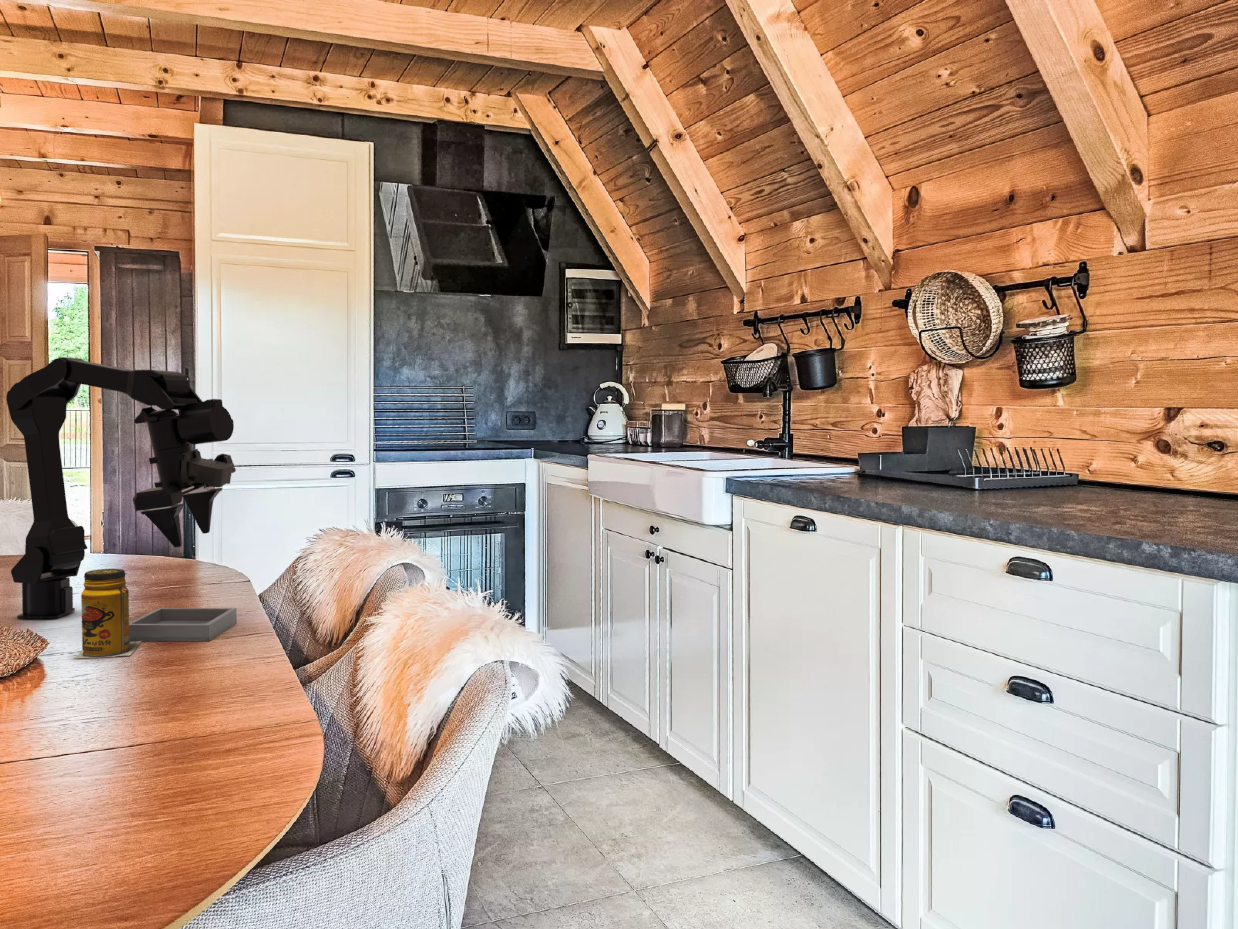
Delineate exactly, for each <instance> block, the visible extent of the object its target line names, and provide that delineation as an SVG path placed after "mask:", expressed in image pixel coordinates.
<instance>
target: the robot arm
mask: <svg viewBox="0 0 1238 929" xmlns="http://www.w3.org/2000/svg"><path fill="white" fill-rule="evenodd" d="M81 385H85V386H91V387H95V388H100V389H103V390H104V389H105V390H109V391H115V392H119V393H122V394H124V395H127V396H128V397H129V398H130V399H132V400H135V401H136V402H138V403H141V404H143V405H146V406H148V407H143V408H141V411H140V412H139V414H138V415H137V416H136V417H135V419H134V420H133V422H134V424H136V425H140V424H146V425H147V426H146V427H147V430H148V434H149V440H150V443H151V449H152V453H153V456H151V457H148V461H149V465H153V464H154V465H156V470H157V475H158V478H159V481H157V482H154V487H152V488H151V487H150V488H147V489H144V490H141V491H137V492H136V493H135V495H134V496H133V498H132V503H133V508H134V511H135V512H138V511H140V513H141V515H143V516H146V517H147V519H149V521H150V522H151V523H152V524H153V525H154V526H155V527H156V528H157V529H159V531H160V532H161V533H162V535H163V536H164V537H165V538H166V540H167V541H168V542H169V543H170V544H171V545H172V546H173V548H181V547H182V544H183V542H182V541H183V540H182V530H181V520H180V513H181V511H182V510H183V508H184V507H185V504H186V505H187V507H188V509H189V511H190V513H191V514H192V517H193V519H194V521H195V523H196V525H197V526H198V528H199V530H200V531H201V533H202V534H209V533H210V530H211V522H212V512H213V505H214V500H215V498H216V497H217V496H218V495H219V493H221V492H222V491H223V486H225V485H229V484H231V479H232V474H233V473H235V472H236V471H237V470H236V467H235V463H233V462H234V461H233V459H232V456H231V454H226V453H220V454H217V455H216V456H215V458H204V457H202V455H201V452H200V450H198V448H195V449H193V447H192V445H202V444H208V443H209V444H210V443H219V442H225V441H228V440H229V439H230V438H231V437H232V436H233V433H234V427H235V426H234V424H235V423H234V419H233V418H232V416H231V414H230V411H228V409H227V408H225V407H224V405H223V400H222V399H221V398H220V399H218V398H211V399H205V400H202V399H201V398H200V397H199V395H198V394H197V393H196V392H195V390H194V389H193V388H192V387H191V386H190V384H189V380H188V379H187V376H186V375H185V374H184V373H182V372H181V371H172V370H160V369H159V370H158V369H128V368H122V367H117V366H111V365H108V364H107V365H106V364H102V363H97V362H91V361H87V360H84V359H82V358H77V357H66V356H59V357H57V358H54V359H53V360H52V361H50V363H48V364H47V365H46V366H44V367H41V368H40V369H38V370H36V371H33V372H32V373H31V374H27V375H26V376H24V377H23V378H22V379H20V381H18V382H16V383H14V384H13V385H12V386H11V388H10V389H9V390H8V391H7V392H6V406H7V408H8V413H9V417H10V420H11V421H12V423H13V424H14V426H15V427H16V428H17V429H18V431H19V432H20V433H21V435H22V436H23V439H24V449H25V454H26V455H25V456H26V464H27V466H26V467H27V472H28V482H29V489H30V498H31V506H32V514H33V522H32V525H31V526H30V529H29V531H28V533H27V534H26V537H25V544H24V545H25V546H24V547H25V552H24V554H23V556H22V557H20V559H19V560H18V561H17V562H16V564H14V566H13V567H12V568H11V570H10V573H11V577H12V579H13V582H14V584H15V583H18V584H21V596H22V597H21V599H22V602H21V603H22V608H21V610H22V613H20V614H17V615H16V619H59V618H61V617H63V616H65V615H69V614H71V613H73V612H75V611H76V608H74V600H73V598H74V592H73V591H74V590H73V589H74V587H73V586H72V585H70V584H71V583H70V582H71V581H70V580H71V579H70V578H71V577H77V576H78V573H79V570H80V567H81V564H82V561H84V560H85V557H86V556H85V553H86V552H85V550H87V549H88V546H87V544H86V540H85V531H86V530H85V529H84V526H83V525H75V524H74V522H73V521H72V520H71V519H70V517H69V515H68V513H69V512H68V506H67V497H66V496H67V495H66V490H65V489H66V488H65V480H64V472H63V464H62V455H61V453H62V452H61V447H60V439H59V435H60V434H59V433H60V431H61V429H62V427H63V425H64V423H65V421H66V420H67V419H66V418H67V405H68V404H69V403H70V402H71V401H73V400H74V399H75V398H76V397H77V395H78V392H79V390H80V387H81ZM153 406H156V407H157V408H159V410H157V409H155V408H154V407H153ZM177 411H178V412H177ZM183 499H184V502H185V503H182V502H183Z"/></svg>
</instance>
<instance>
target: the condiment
mask: <svg viewBox="0 0 1238 929" xmlns="http://www.w3.org/2000/svg"><path fill="white" fill-rule="evenodd" d="M83 578H84V581H83V586H84V588H83V590H82V592H81V596H80V597H81V598H80V599H81V639H82V640H81V641H82V642H81V644H82V645H81V646H82V647H81V650H80V652H78V654H77V655H76V656H75V657H73V659H74V660H76V659H102V658H114V657H122V656H123V657H125V656H131V655H132V654H134V652H135V651H136V649H137V648H138V647H139V645H140V643H141V642H142V641H129V622H130V614H129V613H130V610H129V609H130V608H129V607H130V601H129V600H130V599H129V598H130V594H129V592H130V591H129V588H128V587H127V585H126V583H127V580H126V571H125V570H124V569H121V568H101V569H93V570H89V571H86V572H85V573H84V575H83Z"/></svg>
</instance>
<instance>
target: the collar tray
mask: <svg viewBox="0 0 1238 929" xmlns="http://www.w3.org/2000/svg"><path fill="white" fill-rule="evenodd" d="M237 612H238V611H237V608H235V607H234V608H233V607H231V608H230V607H229V608H228V607H221V608H220V607H218V608H216V607H213V608H212V607H208V608H206V607H158V608H156V609H154V610H152V611H150V612H147V613H146V614H143V615H141V616H140V617H138V618H136V619H133V620H131V621H129V642H136V641H141V642H210V641H212V640H213V639H215V638H216V637H218V636H220V634H223V633H224V632H226V631H227V630H229V629H230V628H232V627H233V626H234V625H236V624H237V618H238V617H237Z"/></svg>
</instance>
